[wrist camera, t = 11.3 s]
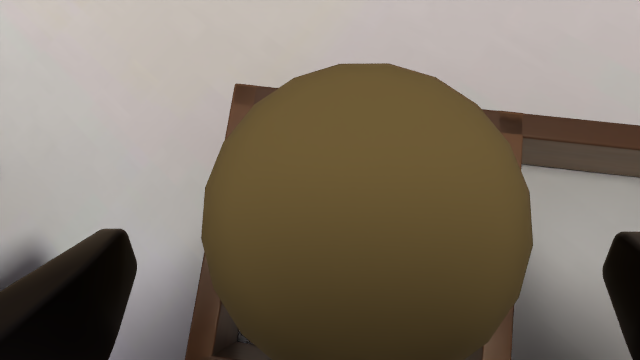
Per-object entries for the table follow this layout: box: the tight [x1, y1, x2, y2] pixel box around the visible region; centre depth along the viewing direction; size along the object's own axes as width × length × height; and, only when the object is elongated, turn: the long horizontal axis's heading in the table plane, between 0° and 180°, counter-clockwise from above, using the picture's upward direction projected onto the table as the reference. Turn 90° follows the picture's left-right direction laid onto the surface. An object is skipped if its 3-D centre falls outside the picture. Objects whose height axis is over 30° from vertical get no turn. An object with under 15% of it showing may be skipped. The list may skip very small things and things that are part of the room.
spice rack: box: [185, 84, 640, 360], centre depth 15 cm, size 9×18×3 cm, turn 82°
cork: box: [201, 64, 533, 360], centre depth 11 cm, size 6×6×11 cm
